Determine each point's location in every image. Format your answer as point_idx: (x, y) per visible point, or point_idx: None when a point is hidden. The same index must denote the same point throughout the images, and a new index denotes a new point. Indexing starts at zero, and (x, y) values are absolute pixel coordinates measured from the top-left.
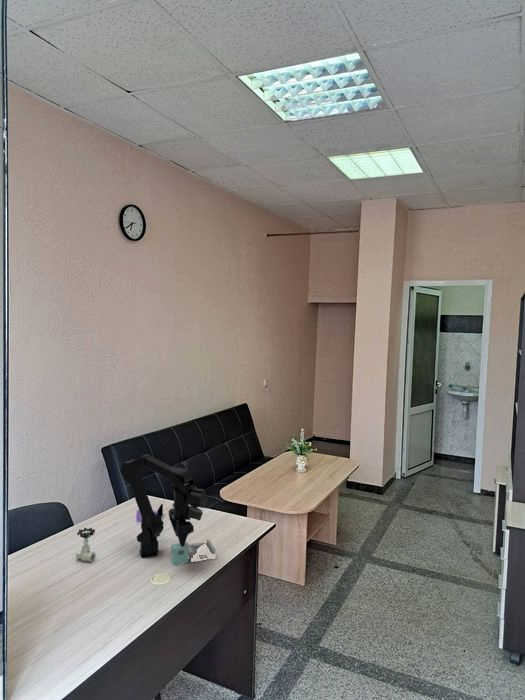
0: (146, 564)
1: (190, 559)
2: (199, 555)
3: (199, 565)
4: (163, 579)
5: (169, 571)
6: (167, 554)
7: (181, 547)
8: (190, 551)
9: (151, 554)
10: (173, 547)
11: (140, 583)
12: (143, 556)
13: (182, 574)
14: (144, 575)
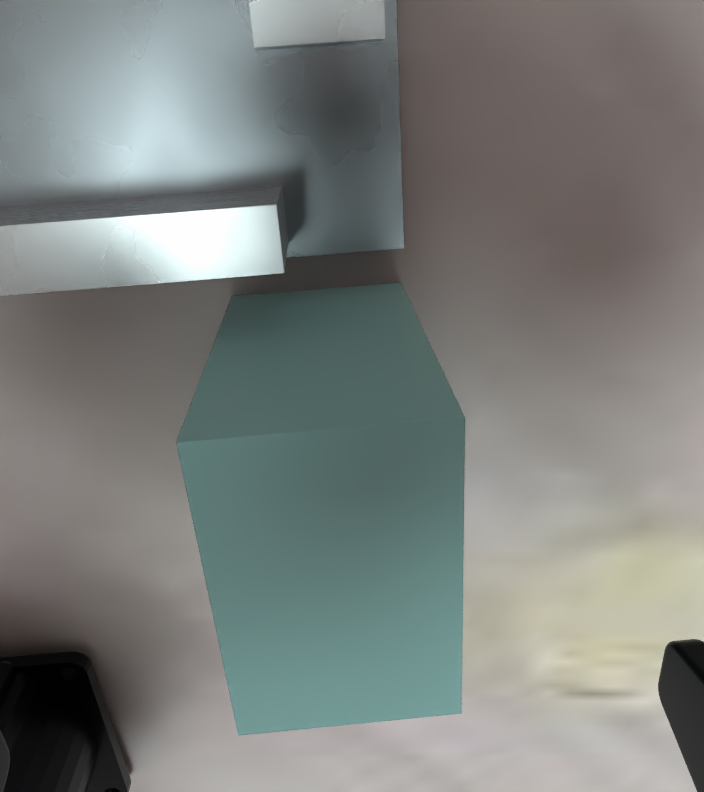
0: (274, 738)
1: (323, 240)
2: (255, 34)
3: (505, 91)
4: (667, 607)
5: (517, 541)
6: (35, 533)
7: (438, 576)
8: (233, 259)
9: (83, 725)
10: (384, 710)
11: (636, 776)
12: (118, 786)
13: (662, 401)
14: (504, 752)
